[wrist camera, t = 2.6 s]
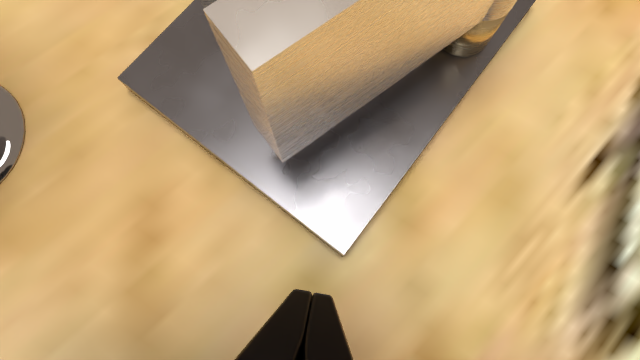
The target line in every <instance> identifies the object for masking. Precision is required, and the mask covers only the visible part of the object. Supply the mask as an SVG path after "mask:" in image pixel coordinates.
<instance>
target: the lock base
mask: <svg viewBox="0 0 640 360" xmlns="http://www.w3.org/2000/svg"><path fill="white" fill-rule="evenodd" d="M215 1H217V0H194V1H193V2H192V3H191V4H190V5H189V6H188V7H187V8H186V9H185V10H184V11H183V12H182V13H181V14H180V15H179V16H178V17H177V18H176V19H175V20H174V21H173V22H172V23H171V24H170V25H169V26H168V27H167V28H166V29H165V30H164V31H163V32H162V33H161V34H160V35H159V36H158V37H157V38H156V39H155V40H154V41H153V42H152V43H151V44H150V45H149V47H148V48H147V49H146V50H145V51H144V52H143V53H142V54H141V55H140V56H139V57H138V58H137V59H136V60H135V61H134V62H133V63H132V64H131V65H130V66H129V67H128V68H127V69H126V70H125V71H124V72H123V73H122V74H121V75H120V76H119V77H118V79H119V80H120V81H121V82H122V83H123V84H124V85H125V86H126V87H127V88H128V89H129V90H130V91H131V92H133V93H134V94H135V95H137V96H138V97H139V98H140V99H142V100H143V101H144V102H146V103H147V104H148V105H149V106H151V107H152V108H153V109H154V110H156V111H157V112H158V113H160V114H161V115H162V116H163V117H165V118H166V119H167V120H169V121H170V122H171V123H172V124H174V125H175V126H176V127H177V128H179V129H180V130H181V131H183V132H184V133H185V134H186V135H188V136H189V137H190V138H192V139H193V140H194V141H195V142H197V143H198V144H199V145H200V146H202V147H203V148H204V149H206V150H207V151H208V152H209V153H211V154H212V155H213V156H215V157H216V158H217V159H218V160H220V161H221V162H222V163H223V164H225V165H226V166H227V167H229V168H230V169H231V170H232V171H234V172H235V173H236V174H238V175H239V176H240V177H241V178H243V179H244V180H245V181H246V182H248V183H249V184H250V185H252V186H253V187H254V188H255V189H257V190H258V191H259V192H261V193H262V194H263V195H264V196H266V197H267V198H268V199H270V200H271V201H272V202H273V203H275V204H276V205H277V206H278V207H280V208H281V209H282V210H284V211H285V212H286V213H287V214H289V215H290V216H291V217H293V218H294V219H295V220H296V221H298V222H299V223H300V224H301V225H303V226H304V227H305V228H307V229H308V230H309V231H310V232H312V233H313V234H314V235H316V236H317V237H318V238H319V239H321V240H322V241H323V242H324V243H326V244H327V245H328V246H330V247H331V248H332V249H333V250H335V251H336V252H337V253H339V254H340V255H341V256H342V257H343V256H344V254H345V253H346V252H347V250H348V249H349V248H350V246H351V245H352V244H353V242H354V241H355V240H356V238H357V237H358V236H359V234H360V233H361V232H362V230H363V229H364V228H365V226H366V225H367V224H368V222H369V221H370V220H371V218H372V217H373V216H374V214H375V213H376V212H377V210H378V209H379V208H380V206H381V205H382V204H383V202H384V201H385V200H386V199H387V197H388V196H389V195H390V193H391V192H392V191H393V189H394V188H395V187H396V185H397V184H398V183H399V181H400V180H401V179H402V177H403V176H404V175H405V173H406V172H407V171H408V169H409V168H410V167H411V165H412V164H413V163H414V161H415V160H416V159H417V157H418V156H419V155H420V153H421V152H422V151H423V149H424V148H425V147H426V145H427V144H428V143H429V141H430V140H431V139H432V137H433V136H434V135H435V133H436V132H437V131H438V129H439V128H440V127H441V125H442V124H443V123H444V121H445V120H446V119H447V117H448V116H449V115H450V113H451V112H452V111H453V109H454V108H455V107H456V106H457V104H458V103H459V102H460V100H461V99H462V98H463V96H464V95H465V94H466V92H467V91H468V90H469V88H470V87H471V86H472V84H473V83H474V82H475V80H476V79H477V78H478V76H479V75H480V74H481V72H482V71H483V70H484V68H485V67H486V66H487V64H488V63H489V62H490V60H491V59H492V58H493V56H494V55H495V54H496V52H497V51H498V50H499V48H500V47H501V46H502V44H503V43H504V42H505V40H506V39H507V38H508V36H509V35H510V34H511V32H512V31H513V30H514V28H515V27H516V26H517V24H518V23H519V22H520V20H521V19H522V18H523V17H524V15H525V14H526V13H527V11H528V10H529V9H530V7H531V6H532V5H533V3H534V2H535V1H536V0H517V2H516V3H515V5H514V6H513V7H512V9H511V10H510V11H509V13H507V14H506V15H505V16H503V17H501V18H499V19H496V20H492V21H481V22H480V23H478V24H477V25H476V26H474V27H473V28H471V29H470V30H469V31H467V32H466V33H464V34H463V35H462V36H460V37H459V38H457V39H456V40H455V41H453V42H452V43H450V44H449V45H448V46H446V47H445V48H443V49H442V50H441V51H439V52H438V53H436V54H435V55H434V56H432V57H431V58H429V59H428V60H427V61H425V62H424V63H422V64H421V65H420V66H418V67H417V68H415V69H414V70H413V71H411V72H410V73H408V74H407V75H406V76H404V77H403V78H401V79H400V80H399V81H397V82H396V83H394V84H393V85H392V86H390V87H389V88H387V89H386V90H385V91H383V92H382V93H380V94H379V95H378V96H376V97H375V98H373V99H372V100H371V101H369V102H368V103H366V104H365V105H364V106H362V107H361V108H359V109H358V110H357V111H355V112H354V113H352V114H351V115H350V116H348V117H347V118H345V119H344V120H343V121H341V122H340V123H338V124H337V125H336V126H334V127H333V128H331V129H330V130H329V131H327V132H326V133H324V134H323V135H322V136H320V137H319V138H317V139H316V140H315V141H313V142H312V143H310V144H309V145H308V146H306V147H305V148H303V149H302V150H301V151H299V152H298V153H296V154H295V155H294V156H292V157H291V158H289V159H288V160H287V161H285V162H284V163H283V162H282V161H281V160H280V158H279V157H278V156H277V154H276V153H275V152H274V151H273V149H272V148H271V147H270V145H269V144H268V143H267V141H266V140H265V139H264V138H263V136H262V135H261V134H260V132H259V131H258V130H257V128H256V127H255V126H254V124H253V122H252V120H251V117H250V115H249V113H248V110H247V108H246V106H245V104H244V101H243V99H242V97H241V95H240V92H239V90H238V88H237V86H236V83H235V81H234V79H233V77H232V74H231V72H230V70H229V67H228V65H227V63H226V61H225V58H224V56H223V54H222V52H221V49H220V47H219V45H218V43H217V40H216V38H215V36H214V34H213V31H212V29H211V27H210V24H209V22H208V20H207V18H206V15H205V13H204V11H203V9H204V8H206V7H207V6H209V5H211V4H212V3H214V2H215Z"/></svg>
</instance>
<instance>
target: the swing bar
mask: <svg viewBox="0 0 640 360" xmlns="http://www.w3.org/2000/svg"><path fill="white" fill-rule="evenodd" d="M516 2H517V0H217V1H215V2H214V3H212V4H211V5H209V6H207V7H206V8H204V9H203V11H204V13H205V15H206V18H207V20H208V22H209V24H210V27H211V29H212V31H213V34H214V36H215V38H216V40H217V43H218V45H219V47H220V49H221V52H222V54H223V56H224V58H225V61H226V63H227V65H228V67H229V70H230V72H231V74H232V77H233V79H234V81H235V83H236V86H237V88H238V90H239V92H240V95H241V97H242V99H243V101H244V104H245V106H246V108H247V110H248V113H249V115H250V117H251V120H252V122H253V124H254V126H255V127H256V128H257V130H258V131H259V132H260V134H261V135H262V136H263V138H264V139H265V140H266V141H267V143H268V144H269V145H270V147H271V148H272V149H273V151H274V152H275V153H276V154H277V156H278V157H279V158H280V160H281V161H282V162H283V163H284V162H285V161H287V160H288V159H289V158H291V157H292V156H294V155H295V154H296V153H298V152H299V151H301V150H302V149H303V148H305V147H306V146H308V145H309V144H310V143H312V142H313V141H315V140H316V139H317V138H319V137H320V136H322V135H323V134H324V133H326V132H327V131H329V130H330V129H331V128H333V127H334V126H336V125H337V124H338V123H340V122H341V121H343V120H344V119H345V118H347V117H348V116H350V115H351V114H352V113H354V112H355V111H357V110H358V109H359V108H361V107H362V106H364V105H365V104H366V103H368V102H369V101H371V100H372V99H373V98H375V97H376V96H378V95H379V94H380V93H382V92H383V91H385V90H386V89H387V88H389V87H390V86H392V85H393V84H394V83H396V82H397V81H399V80H400V79H401V78H403V77H404V76H406V75H407V74H408V73H410V72H411V71H413V70H414V69H415V68H417V67H418V66H420V65H421V64H422V63H424V62H425V61H427V60H428V59H429V58H431V57H432V56H434V55H435V54H436V53H438V52H439V51H441V50H442V49H443V48H445V47H446V46H448V45H449V44H450V43H452V42H453V41H455V40H456V39H457V38H459V37H460V36H462V35H463V34H464V33H466V32H467V31H469V30H470V29H471V28H473V27H474V26H476V25H477V24H478V23H480V22H481V21H492V20H496V19H499V18H501V17H503V16H505V15H506V14H507V13H509V11H510V10H511V9H512V7H513V6H514V5H515V3H516Z"/></svg>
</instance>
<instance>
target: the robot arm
mask: <svg viewBox="0 0 640 360" xmlns="http://www.w3.org/2000/svg"><path fill="white" fill-rule="evenodd" d="M235 360H353V357H352V354H351V351H350V348H349V345H348V342H347V339H346V336H345V333H344V331H343V328H342V325H341V322H340V319H339V316H338V313H337V310H336V307H335V304H334V301H333V298H332V297H331V296H330V295H326V294H320V293H314V294H313V296H312V293H311V292H309V291H304V290H298V289H295V290H293V291H292V292H291V293H290V294H289V296H288V297H287V298H286V299H285V300H284V302H283V303H282V304H281V305H280V306H279V308H278V309H277V310H276V311H275V312H274V313H273V315H272V316H271V317H270V318H269V319H268V321H267V322H266V323H265V324H264V325H263V327H262V328H261V329H260V330H259V331H258V333H257V334H256V335H255V336H254V337H253V339H252V340H251V341H250V342H249V343H248V344H247V346H246V347H245V348H244V349H243V350H242V352H241V353H240V354H239V355H238V356H237V358H236V359H235Z"/></svg>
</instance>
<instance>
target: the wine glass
mask: <svg viewBox="0 0 640 360" xmlns="http://www.w3.org/2000/svg"><path fill="white" fill-rule="evenodd" d="M24 136H25V121H24V117H23V113H22V110H21V108H20V106H19V104H18V102H17V100H16V99H15V98H14V97H13V95H12V94H11V93H10V92H9V91H7V90H6V89H5V88H4V87H2V86H0V183H1V182H2V181H3V180H4V179H5V178H6V177H7V175H8V174H9V173H10V171H11V170H12V168H13V167H14V165H15V163H16V161H17V159H18V157H19V156H20V153H21V150H22V147H23V143H24Z"/></svg>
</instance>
